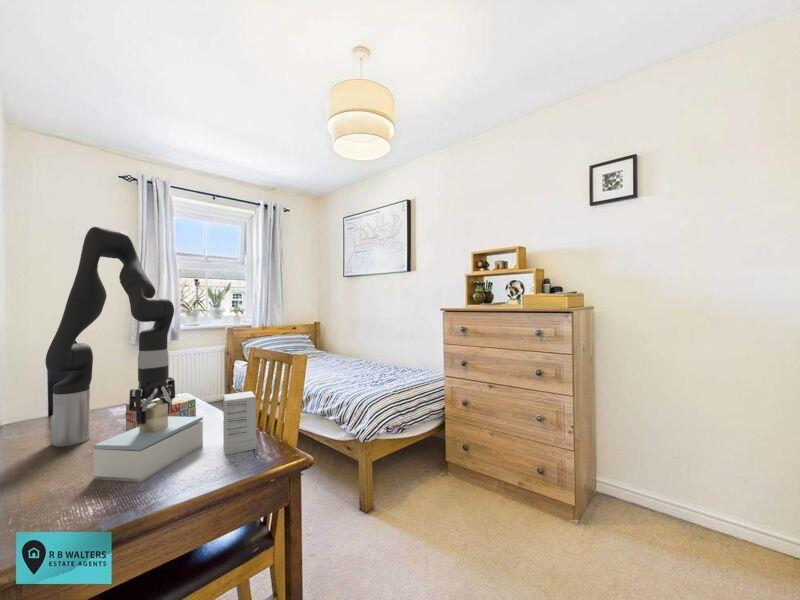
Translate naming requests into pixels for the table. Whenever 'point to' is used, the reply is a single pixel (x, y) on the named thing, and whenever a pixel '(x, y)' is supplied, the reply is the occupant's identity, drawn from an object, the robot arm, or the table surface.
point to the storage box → (146, 456)
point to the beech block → (155, 418)
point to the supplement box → (239, 422)
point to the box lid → (146, 435)
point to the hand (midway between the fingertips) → (153, 419)
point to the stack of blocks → (177, 409)
